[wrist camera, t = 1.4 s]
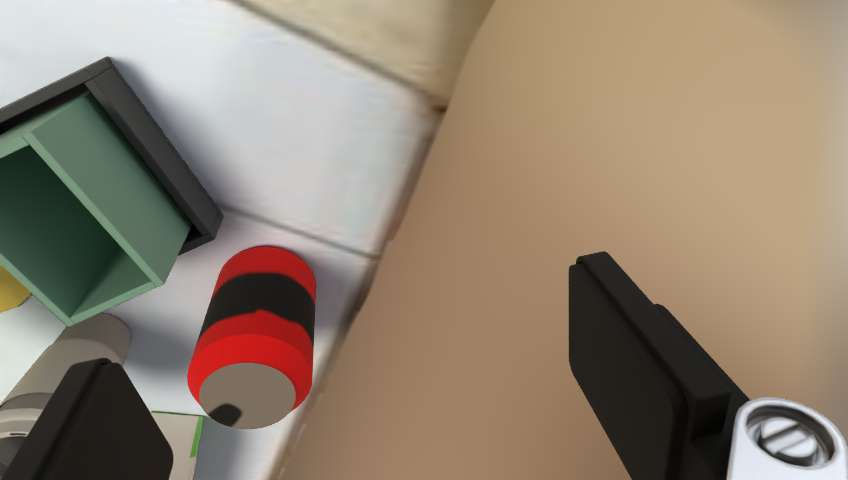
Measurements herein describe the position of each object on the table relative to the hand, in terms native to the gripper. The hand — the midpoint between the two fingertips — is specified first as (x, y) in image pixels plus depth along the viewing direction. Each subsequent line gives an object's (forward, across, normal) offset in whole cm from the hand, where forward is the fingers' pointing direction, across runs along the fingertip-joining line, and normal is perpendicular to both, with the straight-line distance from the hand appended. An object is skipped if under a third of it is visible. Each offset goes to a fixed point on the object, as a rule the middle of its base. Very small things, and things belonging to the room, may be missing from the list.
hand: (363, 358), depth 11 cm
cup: (+28, +24, +17) cm, 40 cm away
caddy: (+27, +16, +4) cm, 32 cm away
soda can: (+28, +9, +15) cm, 33 cm away
